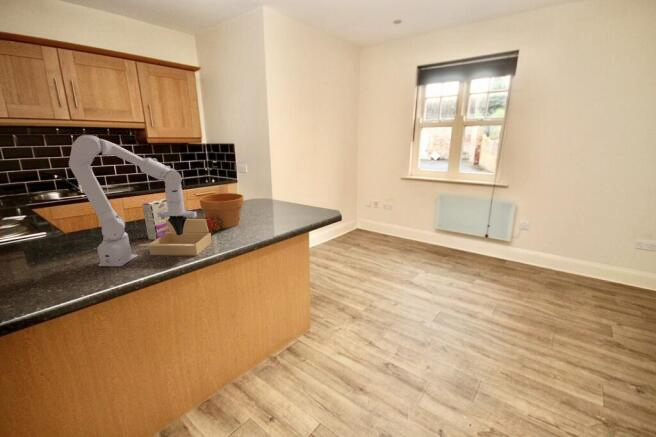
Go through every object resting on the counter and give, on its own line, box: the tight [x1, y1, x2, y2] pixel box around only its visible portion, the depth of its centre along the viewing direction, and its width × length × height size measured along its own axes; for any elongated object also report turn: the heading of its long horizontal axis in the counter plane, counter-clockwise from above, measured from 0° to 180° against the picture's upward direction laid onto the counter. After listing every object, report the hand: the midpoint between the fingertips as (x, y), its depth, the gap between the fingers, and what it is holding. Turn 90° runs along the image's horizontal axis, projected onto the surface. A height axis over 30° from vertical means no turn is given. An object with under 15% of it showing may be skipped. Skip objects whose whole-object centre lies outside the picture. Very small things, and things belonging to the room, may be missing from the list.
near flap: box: [139, 243, 194, 247], centre depth 105 cm, size 6×16×1 cm, turn 90°
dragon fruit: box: [201, 216, 222, 234], centre depth 136 cm, size 8×8×12 cm
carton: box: [148, 232, 212, 257], centre depth 116 cm, size 14×18×4 cm
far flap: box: [166, 218, 210, 233], centre depth 120 cm, size 6×16×1 cm
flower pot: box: [199, 192, 244, 230], centre depth 147 cm, size 21×21×15 cm
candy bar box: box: [141, 198, 176, 241], centre depth 129 cm, size 11×5×16 cm, turn 168°
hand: (179, 234), depth 114 cm, fingers closed
